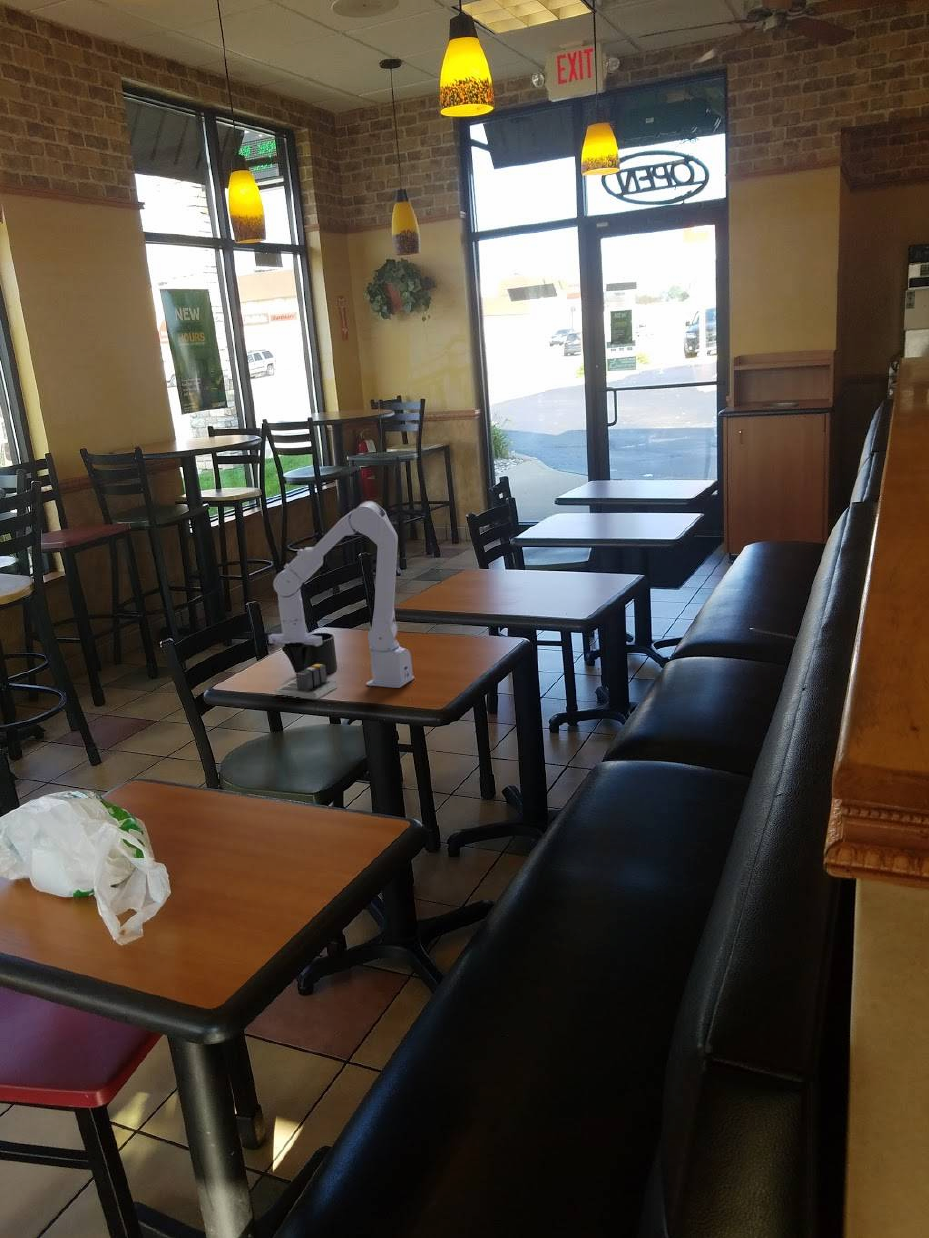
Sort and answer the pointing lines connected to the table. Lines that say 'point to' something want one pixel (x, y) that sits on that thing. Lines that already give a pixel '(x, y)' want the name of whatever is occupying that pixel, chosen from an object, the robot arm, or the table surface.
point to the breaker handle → (321, 672)
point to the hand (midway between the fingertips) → (299, 671)
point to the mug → (322, 653)
